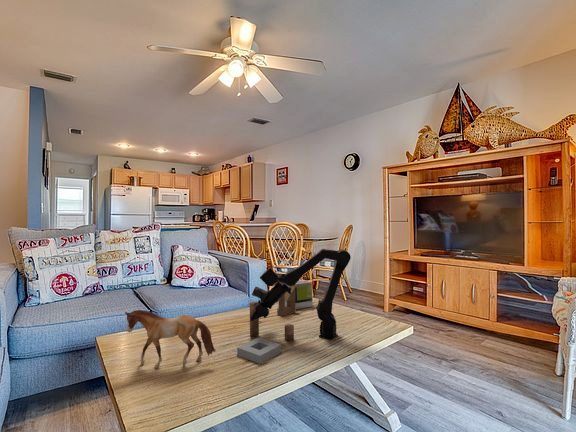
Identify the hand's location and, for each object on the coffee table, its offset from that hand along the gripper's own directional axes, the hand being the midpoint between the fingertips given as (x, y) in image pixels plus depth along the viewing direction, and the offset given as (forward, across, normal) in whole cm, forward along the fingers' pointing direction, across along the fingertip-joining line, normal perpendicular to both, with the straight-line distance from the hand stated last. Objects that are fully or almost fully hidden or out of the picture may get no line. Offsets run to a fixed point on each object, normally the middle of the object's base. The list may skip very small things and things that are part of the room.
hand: (251, 318), depth 136 cm
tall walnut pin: (+4, 0, +6) cm, 7 cm away
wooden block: (-4, -32, +16) cm, 36 cm away
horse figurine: (+22, +30, -11) cm, 39 cm away
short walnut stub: (-6, +4, +18) cm, 19 cm away
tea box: (-9, -46, +20) cm, 51 cm away
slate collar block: (+1, +18, +10) cm, 20 cm away
